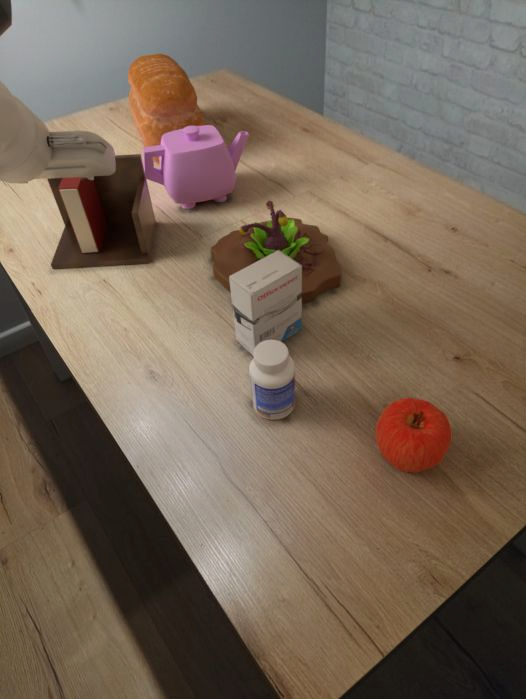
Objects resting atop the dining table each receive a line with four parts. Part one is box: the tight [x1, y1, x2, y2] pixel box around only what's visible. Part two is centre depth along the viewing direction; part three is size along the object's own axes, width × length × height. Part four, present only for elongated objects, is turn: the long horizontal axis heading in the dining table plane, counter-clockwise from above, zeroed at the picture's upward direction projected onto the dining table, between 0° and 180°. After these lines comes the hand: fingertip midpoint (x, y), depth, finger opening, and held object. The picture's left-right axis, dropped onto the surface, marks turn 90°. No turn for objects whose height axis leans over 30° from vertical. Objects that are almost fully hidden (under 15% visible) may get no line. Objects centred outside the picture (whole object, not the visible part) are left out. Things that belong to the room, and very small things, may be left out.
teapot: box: [142, 124, 250, 210], centre depth 95 cm, size 20×12×13 cm, turn 109°
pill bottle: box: [248, 340, 296, 421], centre depth 61 cm, size 5×5×10 cm
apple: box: [375, 397, 453, 473], centre depth 57 cm, size 8×8×8 cm
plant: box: [210, 200, 342, 305], centre depth 79 cm, size 20×20×11 cm
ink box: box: [229, 250, 303, 357], centre depth 69 cm, size 8×5×12 cm, turn 130°
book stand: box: [47, 153, 157, 270], centre depth 85 cm, size 16×12×13 cm
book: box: [58, 177, 107, 253], centre depth 84 cm, size 3×8×12 cm, turn 3°
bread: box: [127, 53, 207, 165], centre depth 110 cm, size 14×26×15 cm, turn 19°
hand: (56, 176), depth 74 cm, fingers open, 8 cm apart
